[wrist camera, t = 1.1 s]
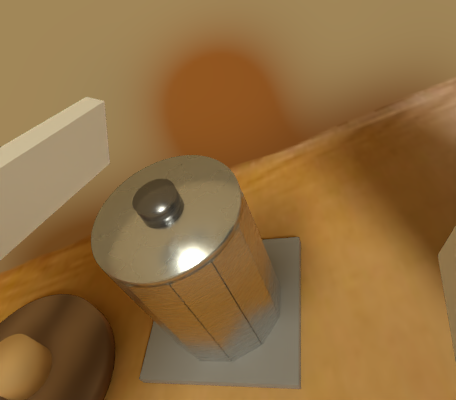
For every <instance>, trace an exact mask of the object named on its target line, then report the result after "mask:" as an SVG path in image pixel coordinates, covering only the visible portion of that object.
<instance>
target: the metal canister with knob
mask: <svg viewBox="0 0 456 400" xmlns="http://www.w3.org/2000/svg"><path fill="white" fill-rule="evenodd" d="M91 247H92V252H93V256H94V258H95V260H96V262H97V263H98V265H99V266H100V267H101V268H102V270H103V271H104V272H105V273H106V274H107V275H108V276H109V277H110V278H111V279H112V280H113V281H114V282H115V283H116V284H117V285H118V286H119V287H120V288H121V289H122V290H124V291H125V292H126V293H127V294H128V295H129V296H130V297H131V298H132V299H133V300H134V301H135V302H136V303H137V304H138V305H139V306H140V307H141V308H142V309H143V310H144V311H145V312H146V313H147V314H148V315H149V316H150V317H151V318H152V319H153V320H154V321H155V322H156V323H157V324H158V325H159V326H160V327H161V328H162V329H163V330H164V331H165V332H166V333H167V334H168V335H169V336H170V337H171V338H172V339H173V340H174V341H175V342H176V343H177V344H178V345H179V346H180V347H182V348H183V349H185V350H186V351H187V352H189V353H190V354H191V355H193V356H194V357H195V358H197V359H198V360H200V361H204V362H232V361H233V362H234V361H235V360H237V359H239V358H241V357H243V356H244V355H246V354H248V353H250V352H251V351H253V350H255V349H257V348H259V347H260V346H262V345H263V344H264V342H265V340H266V339H267V337H268V336H269V334H270V332H271V331H272V329H273V328H274V326H275V325H276V323H277V321H278V320H279V318H280V306H281V286H280V284H279V281H278V279H277V276H276V274H275V271H274V269H273V266H272V264H271V261H270V259H269V257H268V254H267V252H266V249H265V247H264V244H263V242H262V239H261V237H260V234H259V232H258V229H257V227H256V224H255V222H254V219H253V217H252V215H251V212H250V210H249V207H248V205H247V202H246V200H245V197H244V195H243V193H242V191H241V189H240V186H239V184H238V181H237V179H236V177H235V175H234V174H233V172H232V171H231V170H230V169H229V168H228V167H227V166H226V165H224V164H223V163H221V162H219V161H218V160H215V159H212V158H209V157H204V156H197V155H186V156H178V157H173V158H169V159H165V160H162V161H159V162H156V163H154V164H152V165H150V166H148V167H145V168H144V169H142V170H140V171H138V172H137V173H135V174H134V175H133V176H131V177H129V178H128V179H127V180H126V181H124V182H123V183H122V184H121V185H120V186H119V187H118V188H117V189H116V190H115V191H114V192H113V193H112V194H111V195H110V196H109V198H108V199H107V200H106V201H105V203H104V204H103V206H102V208H101V209H100V211H99V213H98V215H97V217H96V219H95V222H94V225H93V229H92V234H91ZM261 344H262V345H261Z"/></svg>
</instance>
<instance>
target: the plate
mask: <svg viewBox="0 0 456 400" xmlns="http://www.w3.org/2000/svg"><path fill="white" fill-rule="evenodd" d="M15 334H24V335H26V336H28V337H30V338H31V339H33V340H35V341H36V342H38V343H40V344H41V345H43V346H45V347H46V348H48V349H49V351H50V352H51V355H52V367H51V370H50V373H49V375H48V378H47V379H46V381H45V383H44V384H43V385H42V387H41V388H40V389H39V390H38V391H37V392H36V393H35V394H33V395H32V396H31V397H29V398H27V399H25V400H103V399H104V397H105V395H106V392H107V390H108V387H109V384H110V381H111V377H112V373H113V368H114V360H115V344H114V337H113V333H112V329H111V327H110V325H109V323H108V321H107V319H106V318H105V317H104V315H103V314H102V313H101V312H100V311H99V310H98V309H96V308H95V307H94V306H93V305H92V304H90V303H89V302H88V301H86V300H85V299H83V298H80V297H78V296H74V295H69V294H58V295H51V296H47V297H43V298H40V299H38V300H35V301H33V302H31V303H29V304H27V305H25V306H23V307H22V308H20V309H18V310H17V311H15V312H14V313H13V314H11V315H10V316H8V317H7V318H6V319H5V320H4V321H2V322H1V323H0V342H1V341H2V340H4V339H5V338H7V337H9V336H11V335H15ZM0 400H8V399H6V398H3V397H1V396H0Z"/></svg>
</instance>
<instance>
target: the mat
mask: <svg viewBox="0 0 456 400" xmlns="http://www.w3.org/2000/svg"><path fill="white" fill-rule="evenodd" d="M262 242H263V244H264V247H265V249H266V252H267V254H268V257H269V259H270V261H271V264H272V266H273V269H274V271H275V274H276V276H277V279H278V281H279V284H280V286H281V306H280V318H279V320H278V321H277V323H276V325H275V326H274V328H273V329H272V331H271V332H270V334H269V336H268V337H267V339H266V340H265V342H264V344H263V345H262V344H261V345H262V346H260V347H259V348H257V349H255V350H253V351H251V352H250V353H248V354H246V355H244V356H243V357H241V358H239V359H237V360H235V361H234V362H233V361H232V362H204V361H200V360H198V359H197V358H195V357H194V356H193V355H191V354H190V353H189V352H187V351H186V350H185V349H183V348H182V347H180V346H179V345H178V344H177V343H176V342H175V341H174V340H173V339H172V338H171V337H170V336H169V335H168V334H167V333H166V332H165V331H164V330H163V329H162V328H161V327H160V326H159V325H158V324H157V323H156V322H155V321H154V322H153V326H152V330H151V334H150V338H149V342H148V346H147V350H146V354H145V358H144V362H143V366H142V370H141V374H140V378H139V379H140V380H141V381H143V382H146V383H170V384H194V385H219V386H243V387H267V388H292V389H301V299H300V239H299V237H292V238H279V239H265V240H262Z"/></svg>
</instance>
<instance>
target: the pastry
mask: <svg viewBox="0 0 456 400" xmlns="http://www.w3.org/2000/svg"><path fill="white" fill-rule="evenodd" d="M51 367H52V355H51V352H50V351H49V349H48V348H46V347H45V346H43V345H41V344H40V343H38V342H36V341H35V340H33V339H31V338H30V337H28V336H26V335H24V334H15V335H11V336H9V337H7V338H5V339H4V340H2V341H1V342H0V396H1V397H3V398H6V399H8V400H25V399H27V398H29V397H31V396H32V395H33V394H35V393H36V392H37V391H38V390H39V389H40V388H41V387H42V385H43V384H44V383H45V381H46V379H47V378H48V375H49V373H50V370H51Z"/></svg>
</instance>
